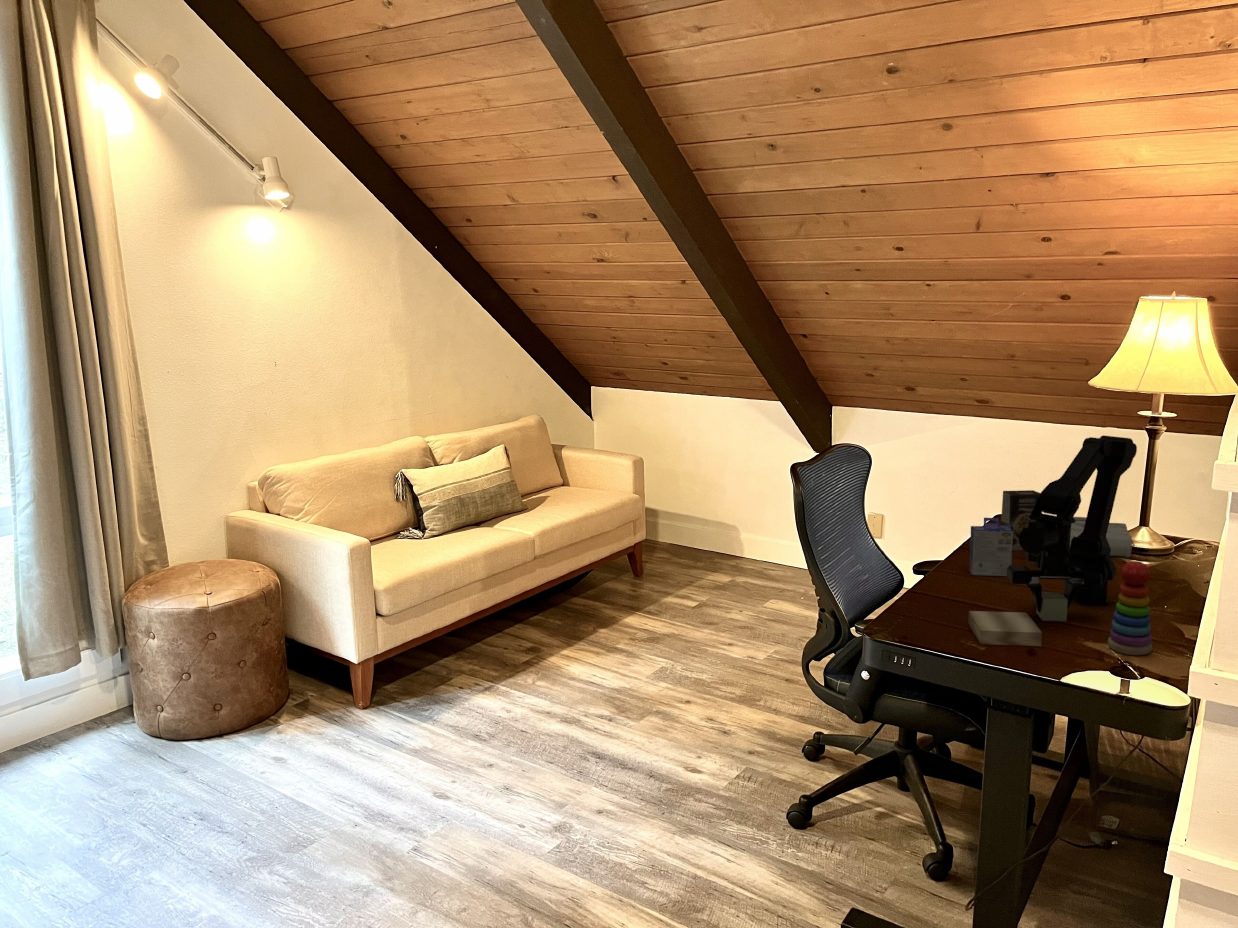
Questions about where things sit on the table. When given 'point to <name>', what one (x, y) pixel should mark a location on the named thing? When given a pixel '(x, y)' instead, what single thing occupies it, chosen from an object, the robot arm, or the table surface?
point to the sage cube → (1053, 607)
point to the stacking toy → (1132, 612)
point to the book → (1109, 537)
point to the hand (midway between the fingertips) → (1051, 611)
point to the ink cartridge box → (990, 549)
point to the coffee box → (1018, 512)
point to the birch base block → (1004, 628)
